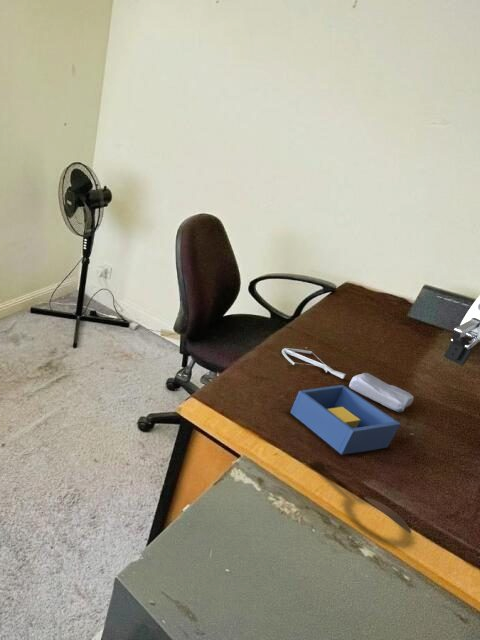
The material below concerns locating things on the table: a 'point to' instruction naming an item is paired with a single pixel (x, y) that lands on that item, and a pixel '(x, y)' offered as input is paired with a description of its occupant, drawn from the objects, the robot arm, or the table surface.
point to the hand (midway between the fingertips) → (471, 358)
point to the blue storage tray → (367, 436)
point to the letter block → (345, 416)
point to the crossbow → (309, 360)
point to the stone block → (381, 392)
